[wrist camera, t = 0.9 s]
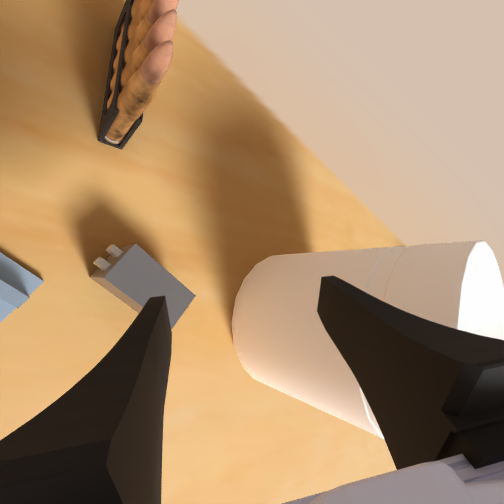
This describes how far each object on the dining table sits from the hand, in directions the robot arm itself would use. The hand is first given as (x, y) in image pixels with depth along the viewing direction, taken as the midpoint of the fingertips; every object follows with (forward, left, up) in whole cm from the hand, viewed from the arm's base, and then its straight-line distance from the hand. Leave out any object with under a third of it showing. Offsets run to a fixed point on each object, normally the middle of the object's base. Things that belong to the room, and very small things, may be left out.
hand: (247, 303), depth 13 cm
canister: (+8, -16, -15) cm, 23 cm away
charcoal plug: (0, +1, -15) cm, 15 cm away
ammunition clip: (+12, +13, -15) cm, 23 cm away
